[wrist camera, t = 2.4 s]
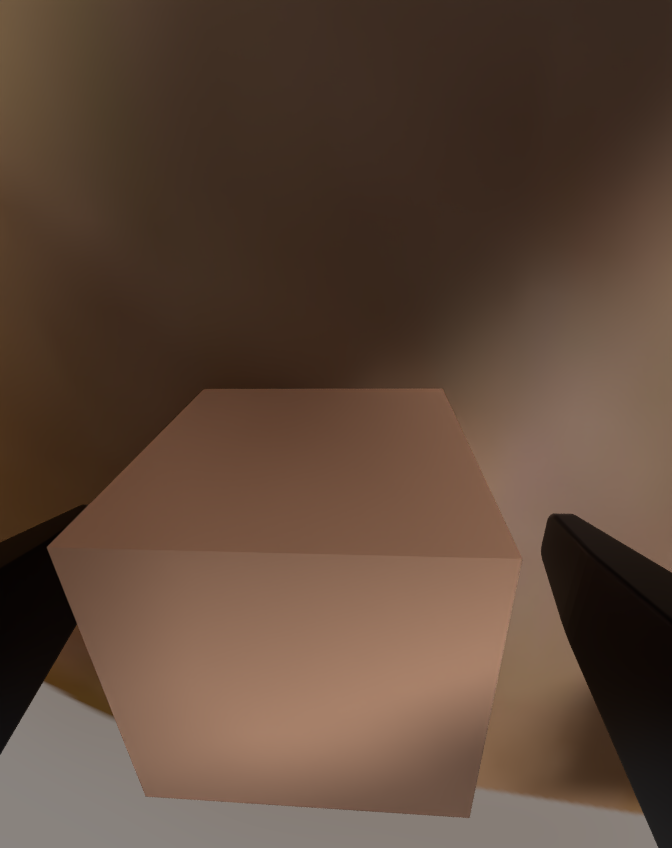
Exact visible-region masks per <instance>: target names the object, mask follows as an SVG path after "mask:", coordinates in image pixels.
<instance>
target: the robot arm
mask: <svg viewBox="0 0 672 848" xmlns="http://www.w3.org/2000/svg"><path fill="white" fill-rule="evenodd" d="M88 505H89V504H85V505H81V506H78V507H76V508H74V509H72V510H70V511H67V512H65V513H63V514H61V515H59V516H57V517H54V518H52V519H50V520H48V521H46V522H44V523H41V524H39V525H37V526H35V527H33V528H31V529H28V530H26V531H24V532H22V533H20V534H18V535H16V536H13V537H11V538H9V539H7V540H5V541H3V542H0V754H1V753H2V751H3V749H4V747H5V746H6V744H7V742H8V740H9V739H10V737H11V735H12V734H13V732H14V730H15V729H16V727H17V725H18V724H19V722H20V720H21V718H22V717H23V715H24V713H25V712H26V710H27V708H28V707H29V705H30V703H31V701H32V700H33V698H34V696H35V695H36V693H37V691H38V690H39V688H40V686H41V684H42V683H43V681H44V679H45V678H46V676H47V674H48V673H49V671H50V669H51V667H52V666H53V664H54V662H55V661H56V659H57V657H58V655H59V654H60V652H61V650H62V649H63V647H64V645H65V644H66V642H67V640H68V638H69V637H70V635H71V633H72V632H73V630H74V628H75V626H76V625H77V622H76V620H75V617H74V615H73V612H72V610H71V607H70V605H69V602H68V600H67V597H66V595H65V592H64V590H63V587H62V585H61V582H60V580H59V577H58V575H57V572H56V570H55V567H54V564H53V562H52V559H51V557H50V554H49V552H48V549H47V546H48V545H49V544H50V543H51V542H52V541H53V540H54V539H55V538H56V537H57V536H58V535H59V534H60V533H61V532H62V531H63V530H64V529H65V528H66V527H67V526H68V525H69V524H70V523H71V522H72V521H73V520H74V519H75V518H76V517H77V516H78V515H79V514H80V513H81V512H82V511H83V510H84V509H85V508H86V507H87V506H88ZM541 555H542V560H543V564H544V567H545V570H546V573H547V576H548V580H549V583H550V586H551V589H552V592H553V596H554V599H555V602H556V605H557V609H558V612H559V615H560V618H561V621H562V624H563V627H564V630H565V633H566V636H567V638H568V641H569V643H570V645H571V648H572V650H573V652H574V655H575V657H576V659H577V662H578V664H579V666H580V669H581V671H582V673H583V675H584V678H585V680H586V682H587V685H588V687H589V689H590V692H591V694H592V696H593V698H594V701H595V703H596V705H597V708H598V710H599V712H600V715H601V717H602V719H603V721H604V724H605V726H606V728H607V731H608V733H609V735H610V738H611V740H612V742H613V744H614V747H615V749H616V751H617V754H618V756H619V758H620V761H621V763H622V765H623V767H624V770H625V772H626V774H627V777H628V779H629V781H630V784H631V786H632V788H633V790H634V793H635V795H636V797H637V800H638V802H639V804H640V807H641V809H642V811H643V813H644V816H645V818H646V820H647V823H648V825H649V827H650V829H651V832H652V834H653V836H654V839H655V841H656V843H657V846H658V848H672V573H671V572H670V571H668V570H666V569H665V568H663V567H661V566H660V565H658V564H656V563H655V562H653V561H651V560H650V559H648V558H646V557H645V556H643V555H641V554H640V553H638V552H636V551H634V550H633V549H631V548H629V547H628V546H626V545H624V544H623V543H621V542H619V541H618V540H616V539H614V538H613V537H611V536H609V535H608V534H606V533H604V532H603V531H601V530H599V529H598V528H596V527H594V526H593V525H591V524H589V523H587V522H586V521H584V520H582V519H581V518H579V517H577V516H576V515H573V514H552V515H550V516H549V518H548V520H547V524H546V528H545V533H544V537H543V542H542V546H541Z"/></svg>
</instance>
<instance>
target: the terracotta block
mask: <svg viewBox="0 0 672 848" xmlns="http://www.w3.org/2000/svg"><path fill="white" fill-rule="evenodd" d="M47 549H48V552H49V554H50V557H51V559H52V562H53V564H54V567H55V570H56V572H57V575H58V577H59V580H60V582H61V585H62V587H63V590H64V592H65V595H66V597H67V600H68V602H69V605H70V607H71V610H72V612H73V615H74V617H75V620H76V622H77V625H78V627H79V630H80V632H81V635H82V637H83V640H84V642H85V645H86V648H87V650H88V653H89V655H90V658H91V660H92V663H93V665H94V668H95V670H96V673H97V675H98V678H99V680H100V683H101V685H102V688H103V690H104V693H105V695H106V698H107V700H108V703H109V705H110V708H111V710H112V713H113V715H114V718H115V720H116V723H117V726H118V728H119V730H120V733H121V736H122V738H123V741H124V743H125V745H126V748H127V751H128V753H129V755H130V758H131V760H132V763H133V766H134V768H135V771H136V773H137V776H138V778H139V781H140V783H141V786H142V788H143V791H144V793H145V796H146V797H161V798H176V799H190V800H205V801H221V802H237V803H251V804H266V805H267V804H268V805H281V806H296V807H311V808H327V809H343V810H357V811H372V812H387V813H403V814H417V815H433V816H448V817H463V818H469V817H470V813H471V808H472V802H473V798H474V793H475V788H476V783H477V778H478V773H479V769H480V764H481V759H482V754H483V749H484V744H485V739H486V734H487V729H488V725H489V720H490V715H491V710H492V705H493V700H494V695H495V690H496V685H497V681H498V676H499V671H500V666H501V661H502V656H503V651H504V646H505V641H506V637H507V632H508V627H509V622H510V617H511V612H512V607H513V602H514V597H515V593H516V588H517V583H518V578H519V573H520V568H521V563H522V557H521V555H520V553H519V551H518V549H517V547H516V544H515V542H514V540H513V538H512V536H511V534H510V532H509V529H508V527H507V525H506V523H505V521H504V519H503V517H502V514H501V512H500V510H499V508H498V506H497V504H496V502H495V500H494V497H493V495H492V493H491V491H490V489H489V487H488V485H487V482H486V480H485V478H484V476H483V474H482V472H481V470H480V467H479V465H478V463H477V461H476V459H475V457H474V455H473V453H472V450H471V448H470V446H469V444H468V442H467V440H466V438H465V435H464V433H463V431H462V429H461V427H460V425H459V423H458V420H457V418H456V416H455V414H454V412H453V410H452V408H451V406H450V403H449V401H448V399H447V397H446V395H445V393H444V391H443V389H203V390H202V391H201V392H200V393H199V394H198V395H197V396H196V397H195V398H194V399H193V400H192V401H191V402H190V403H189V404H188V405H187V406H186V407H185V408H184V409H183V410H182V411H181V412H180V413H179V414H178V415H177V416H176V417H175V419H174V420H173V421H172V422H171V423H170V424H169V425H168V426H167V427H166V428H165V429H164V430H163V431H162V432H161V433H160V434H159V435H158V436H157V437H156V438H155V439H154V440H153V441H152V442H151V443H150V444H149V445H148V446H147V447H146V448H145V449H144V450H143V451H142V452H141V453H140V454H139V455H138V456H137V457H136V458H135V459H134V460H133V461H132V462H131V463H130V464H129V465H128V466H127V467H126V468H125V469H124V470H123V471H122V472H121V473H120V474H119V475H118V476H117V477H116V478H115V479H114V480H113V481H112V482H111V483H110V484H109V485H108V486H107V487H106V488H105V489H104V490H103V491H102V492H101V493H100V494H99V495H98V496H97V497H96V498H95V499H94V500H93V501H92V502H91V503H90V504H89V505H88V506H87V507H86V508H85V509H84V510H83V511H82V512H81V513H80V514H79V515H78V516H77V517H76V518H75V519H74V520H73V521H72V522H71V523H70V524H69V525H68V526H67V527H66V528H65V529H64V530H63V531H62V532H61V533H60V534H59V535H58V536H57V537H56V538H55V539H54V540H53V541H52V542H51V543H50V544H49V545H48V546H47Z"/></svg>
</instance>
